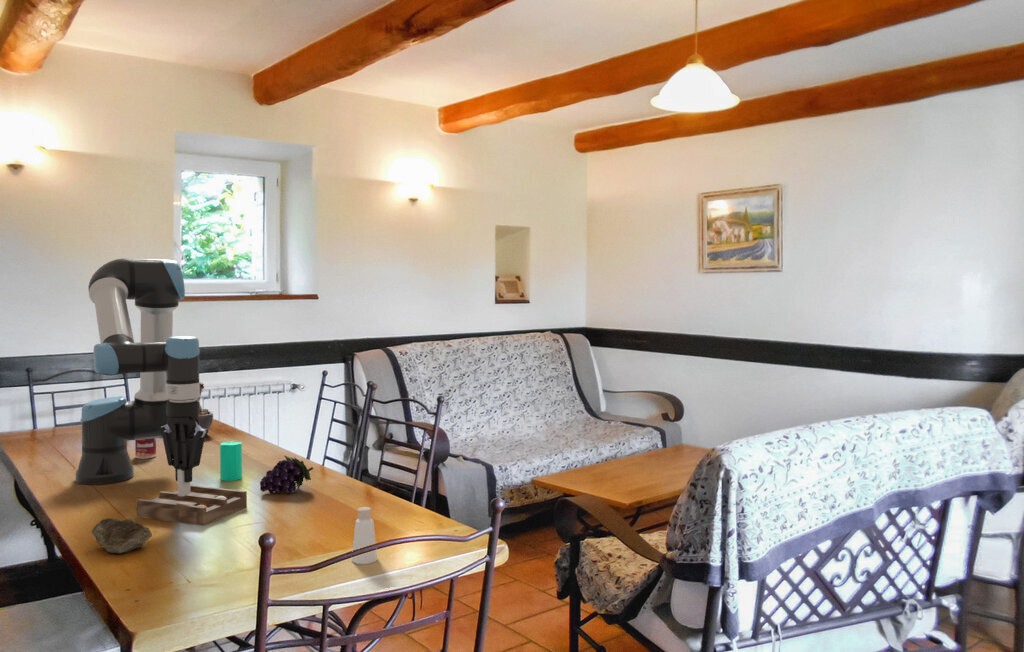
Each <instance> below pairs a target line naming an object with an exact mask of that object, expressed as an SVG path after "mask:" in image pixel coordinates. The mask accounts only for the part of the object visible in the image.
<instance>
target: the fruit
mask: <svg viewBox="0 0 1024 652" xmlns="http://www.w3.org/2000/svg"><path fill="white" fill-rule="evenodd" d="M283 456H284V458H285V459H282V460H279V461H278V462H277V464H276V465H274V466H273V468H272V469H269V470H267V471H266V474H265V476H263V477H262V479H261V481H259V485H260V489H259V490H260V491H261V492H267V491H268V493H270V494H273V493H278V492H279V493H285V492H286V491H287V492H288V494H294V493H295V492H296V489H300V487H301V486H303V482H304V479H305V481H306V482H307V481H309V480H310V481H311V480H312V478H311V473H310V471H312V470H314V467H312V466H311V467H309V468H308V467H307V466H306V464H305V463H304V460H299V459H298V458H296V457H294V458H293V457H289V456H286V455H283Z"/></svg>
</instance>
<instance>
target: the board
mask: <svg viewBox="0 0 1024 652" xmlns="http://www.w3.org/2000/svg"><path fill="white" fill-rule="evenodd" d="M158 494H159V495H158V497H155V498H152V499H145V498H138V499H136V500H135V502H136V505H135V506H136V517H137V518H145V519H151V520H159V521H167V522H172V523H181V524H189V525H196V526H203V527H204V526H206V525H208V524H211V523H213V522H216V521H218V520H220V519H222V518H224V517H227V516H230V515H232V514H235V513H237V512H239V511H242V510H243V509H246V508H247V507H248V499H247V498H248V497H247V491H246V490H239V489H230V488H222V487H220V488H219V487H211V486H203V485H194V484H190V494H188V495H185V496H178V490H175V491H172V492H171V491H164V490H162V491H159V492H158ZM218 496H224V497H226V498H227V499H224V498H216V497H218ZM198 505H205V506H207V507H208V508H206V507H202V506H198Z"/></svg>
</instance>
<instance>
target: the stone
mask: <svg viewBox="0 0 1024 652" xmlns="http://www.w3.org/2000/svg"><path fill="white" fill-rule="evenodd" d="M91 535H92V536H93V537H94V538H95V541H96V543H97V544H99V545H100V546H101V547H102V548H103V549H105V550H106V552H107V553H112V554H123V553H128V552H130V551H133V550H136V549H139V548H141V547H143V545H144V544H145V542H147V541H148V540H150V538H152V536H153V533H152V532H151V530H150V528H148V527H147V526H146V525H144V524H141V523H140V522H137V521H136V520H134V519H131V518H127V519H123V520H120V519H116V518H111V517H109V518H103V519H101V520H100V521H99V522H98V523H97V524H95V526H94V527H93V529H91Z"/></svg>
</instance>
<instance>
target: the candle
mask: <svg viewBox="0 0 1024 652" xmlns="http://www.w3.org/2000/svg"><path fill="white" fill-rule="evenodd" d="M242 448H243V444H242V442H241V441H232V440H229V441H225V442H221V443H220V444H219V455H220V457H219V458H220V459H219V460H220V461H219V464H220V467H219V468H220V469H219V470H220V472H219V473H220V474H219V476H220V477H219V478H220V480H221V481H224V482H233V481H238V479H239V480H241V479H242V478H243V449H242Z"/></svg>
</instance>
